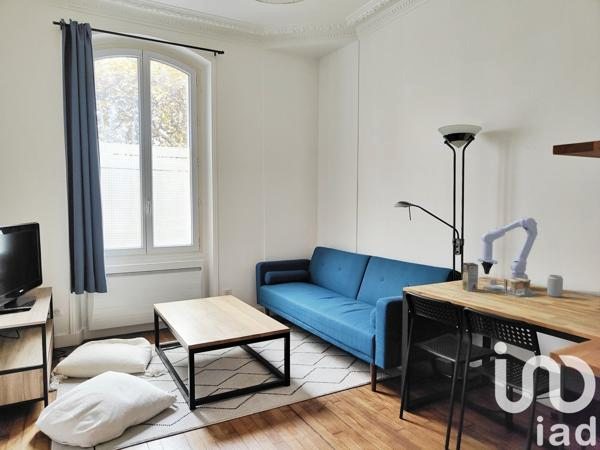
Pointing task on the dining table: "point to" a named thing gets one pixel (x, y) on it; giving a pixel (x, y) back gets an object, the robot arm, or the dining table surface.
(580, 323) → the dining table surface
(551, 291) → the can
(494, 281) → the sled
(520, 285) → the block
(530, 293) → the track
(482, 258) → the robot arm
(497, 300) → the dining table surface
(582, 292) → the dining table surface
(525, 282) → the tunnel
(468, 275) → the coffee box
